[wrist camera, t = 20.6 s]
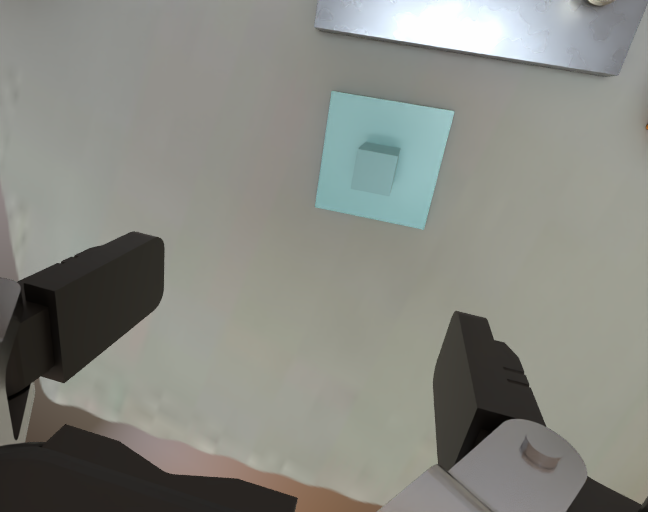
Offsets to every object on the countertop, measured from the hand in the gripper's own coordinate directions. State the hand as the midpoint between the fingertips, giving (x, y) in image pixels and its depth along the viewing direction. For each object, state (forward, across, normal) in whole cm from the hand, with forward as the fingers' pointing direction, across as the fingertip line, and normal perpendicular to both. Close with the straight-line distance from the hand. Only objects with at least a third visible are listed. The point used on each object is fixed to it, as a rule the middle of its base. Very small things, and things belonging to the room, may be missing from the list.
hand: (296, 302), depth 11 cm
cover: (+28, 0, 0) cm, 28 cm away
